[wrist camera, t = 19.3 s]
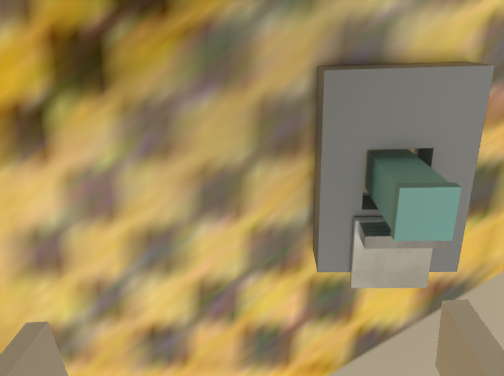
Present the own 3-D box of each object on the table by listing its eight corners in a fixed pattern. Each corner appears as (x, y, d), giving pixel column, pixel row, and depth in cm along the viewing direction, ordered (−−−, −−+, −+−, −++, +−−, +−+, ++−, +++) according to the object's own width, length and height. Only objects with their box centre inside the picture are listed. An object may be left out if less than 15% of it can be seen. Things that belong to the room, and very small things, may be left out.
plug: (365, 148, 39) (399, 188, 29) (410, 147, 39) (461, 187, 29) (362, 189, 41) (393, 241, 30) (406, 188, 40) (452, 240, 30)
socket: (318, 66, 38) (324, 70, 33) (468, 61, 37) (494, 65, 33) (313, 250, 45) (317, 272, 41) (439, 249, 44) (456, 271, 40)
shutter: (353, 217, 38) (362, 236, 34) (433, 216, 37) (450, 235, 34) (349, 283, 41) (357, 307, 37) (423, 283, 40) (438, 307, 37)
